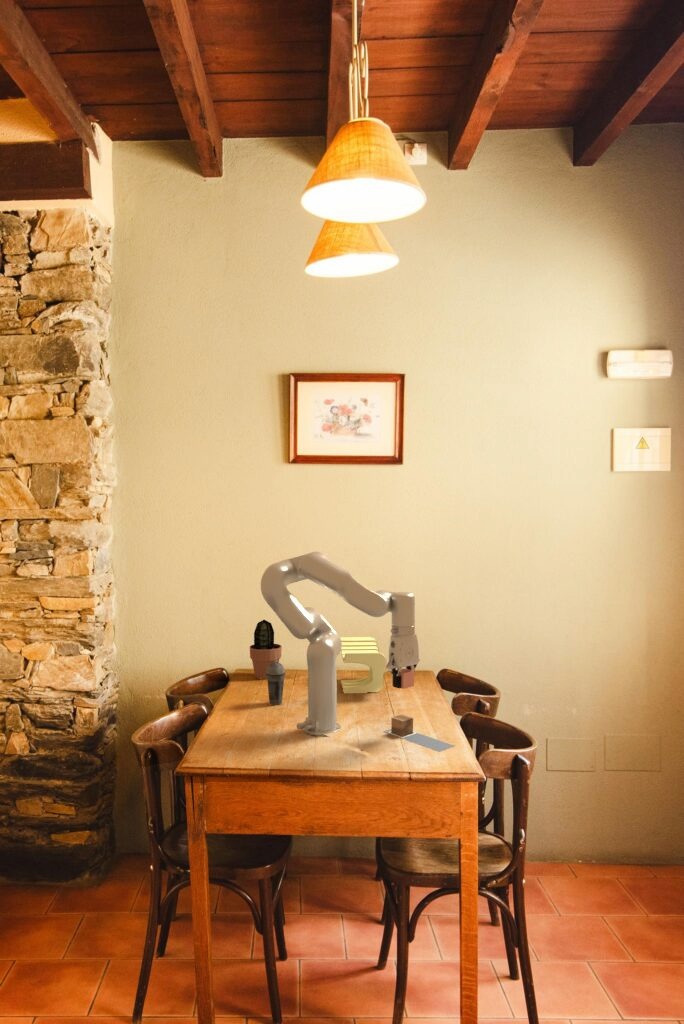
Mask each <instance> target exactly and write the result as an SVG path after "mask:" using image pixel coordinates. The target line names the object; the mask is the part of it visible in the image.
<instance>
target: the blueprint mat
mask: <svg viewBox="0 0 684 1024" xmlns="http://www.w3.org/2000/svg"><path fill="white" fill-rule="evenodd" d="M383 733H385V734H388V735H391V736H394V737H396V738H398V739H399V738H400V739H402V740H405V741H408V742H410V743H412V744H413V743H414V744H417V745H419V746H422V747H425V748H427V749H430V750H432V751H435V752H438V753H440V752H442V751H445V750H448V749H451V748H453V747H455V745H454V744H452V743H448V742H444V741H442V740H439V739H436V738H434V737H430V736H429V735H425V734H421V733H420V732H415V731H413V733H412V734H409V735H406V736H403V737H402V736H399V735H396V734H394V733H391V729H388V730H384V731H383Z"/></svg>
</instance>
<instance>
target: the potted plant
mask: <svg viewBox="0 0 684 1024" xmlns="http://www.w3.org/2000/svg"><path fill="white" fill-rule="evenodd" d="M282 647H283V646H282V645H281V644H278V643H275V630H274V628H273V624H272V623H271V622H270V621H268V620H266V619H262V620H261V621H259V622H257V624H256V626H255V629H254V632H253V644H252V645H250V646H249V658H250V660H251V661H252V666H253V671H254V673H253V674H254V677H255V678H256V677H257V678H256V679H258V678H261V679H260V680H267V674H266V672H267V668H268V666H269V665H270V664H271V663H274V662H275V651H276V662H278V663H280V659H282Z"/></svg>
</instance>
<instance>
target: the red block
mask: <svg viewBox="0 0 684 1024" xmlns="http://www.w3.org/2000/svg"><path fill="white" fill-rule="evenodd" d="M391 675H392V674H391ZM400 676H401V688H400V689H402V690H405V689H409V688H412V687H414V686H415V672H414V671H413V670H409V669H406V667H402V668H401V672H400ZM391 679H392V687H393V675H392V678H391Z"/></svg>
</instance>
